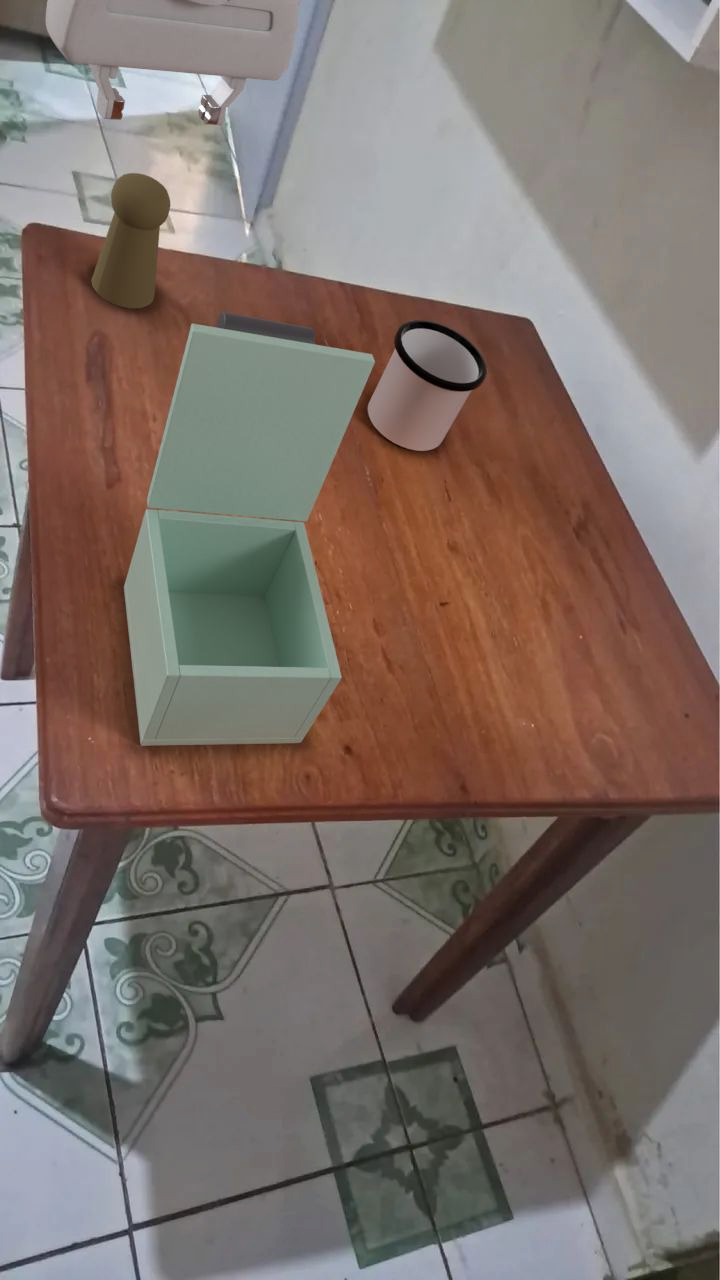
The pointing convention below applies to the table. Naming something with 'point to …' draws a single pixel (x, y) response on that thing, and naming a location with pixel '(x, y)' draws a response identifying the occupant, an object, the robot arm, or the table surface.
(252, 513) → the lid
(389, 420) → the mug
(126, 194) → the brown pawn
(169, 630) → the light green open box
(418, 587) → the table surface
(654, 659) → the table surface
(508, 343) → the table surface
